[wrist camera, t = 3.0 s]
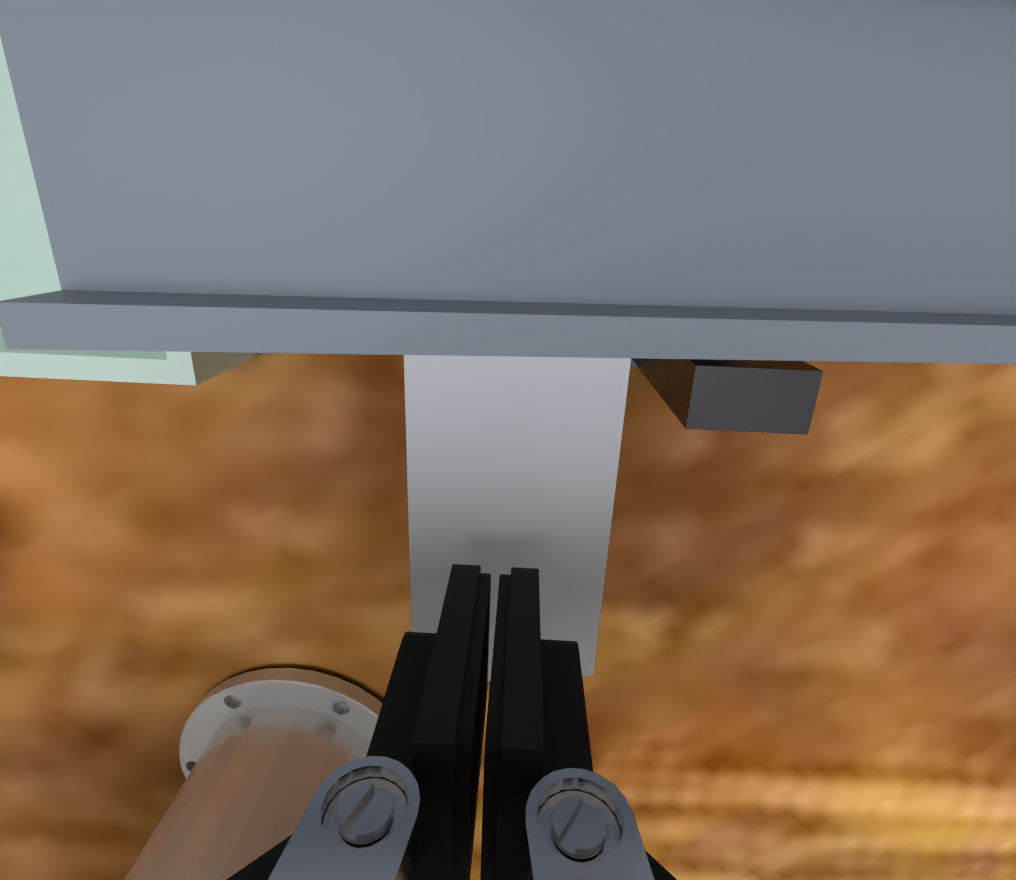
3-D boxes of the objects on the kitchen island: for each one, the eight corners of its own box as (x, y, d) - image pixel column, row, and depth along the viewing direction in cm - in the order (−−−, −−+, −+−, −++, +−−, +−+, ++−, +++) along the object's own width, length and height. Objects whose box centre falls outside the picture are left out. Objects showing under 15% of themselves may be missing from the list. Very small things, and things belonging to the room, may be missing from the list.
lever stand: (725, 366, 22) (844, 451, 14) (600, 360, 22) (643, 441, 14) (798, -36, 18) (1043, -273, 9) (640, -41, 18) (740, -280, 9)
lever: (1051, 545, 21) (1244, 648, 16) (201, 568, 17) (102, 708, 12) (1279, 40, 15) (1693, -50, 10) (81, -72, 12) (-189, -289, 7)
